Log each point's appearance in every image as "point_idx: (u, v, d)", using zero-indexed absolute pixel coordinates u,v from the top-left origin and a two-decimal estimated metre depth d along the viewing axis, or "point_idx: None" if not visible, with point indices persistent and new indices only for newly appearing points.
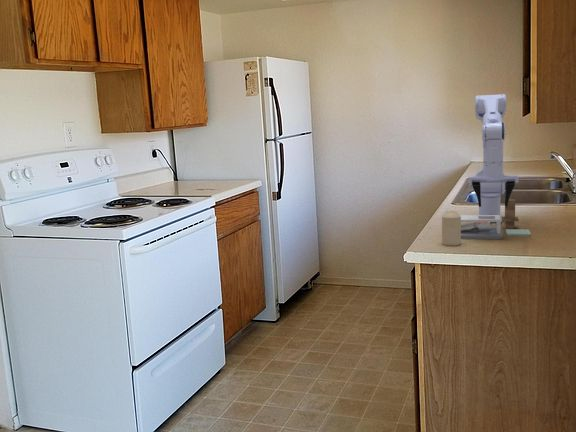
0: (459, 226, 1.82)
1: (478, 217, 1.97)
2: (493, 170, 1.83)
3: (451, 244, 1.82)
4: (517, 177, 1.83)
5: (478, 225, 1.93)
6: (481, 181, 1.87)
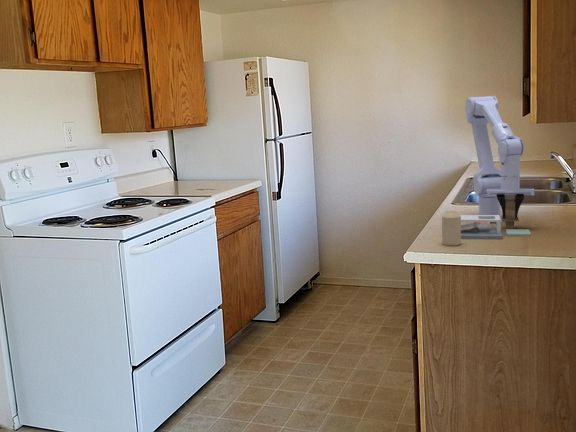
0: (459, 226, 1.82)
1: (478, 217, 1.97)
2: (511, 183, 1.95)
3: (451, 244, 1.82)
4: (533, 190, 1.96)
5: (478, 225, 1.93)
6: (499, 193, 1.99)
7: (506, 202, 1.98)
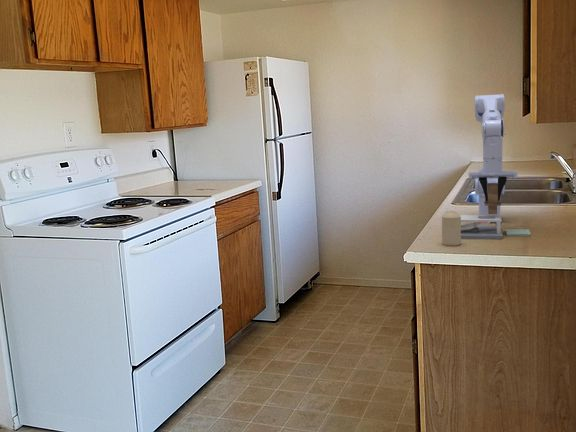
0: (459, 226, 1.82)
1: (478, 217, 1.97)
2: (493, 166, 1.90)
3: (451, 244, 1.82)
4: (516, 172, 1.90)
5: (478, 225, 1.93)
6: (481, 176, 1.94)
7: (488, 186, 1.92)
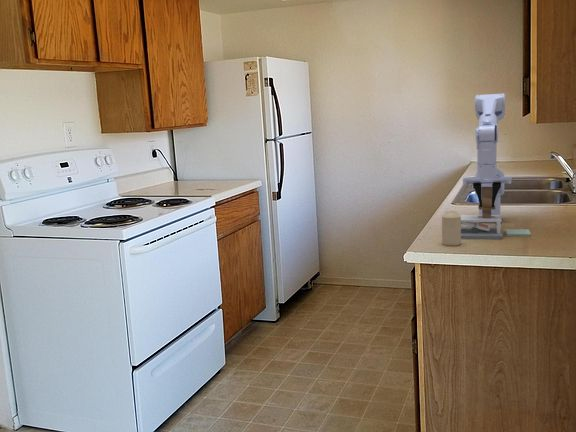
0: (459, 226, 1.82)
1: (478, 217, 1.97)
2: (487, 171, 1.89)
3: (451, 244, 1.82)
4: (510, 178, 1.89)
5: (478, 227, 1.93)
6: (475, 182, 1.93)
7: (482, 190, 1.91)
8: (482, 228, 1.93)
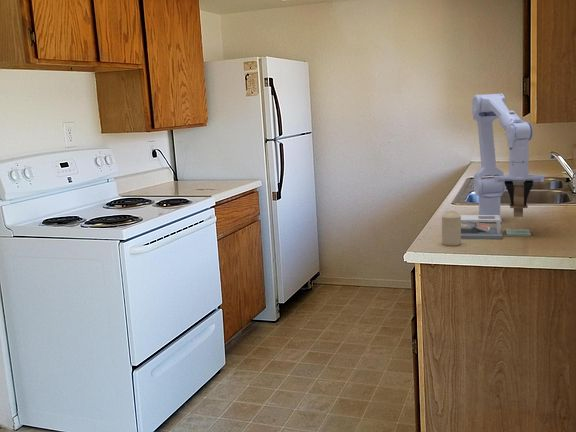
0: (459, 226, 1.82)
1: (478, 217, 1.97)
2: (519, 169, 1.87)
3: (451, 244, 1.82)
4: (542, 176, 1.87)
5: (478, 227, 1.93)
6: (507, 180, 1.91)
7: (514, 188, 1.89)
8: (482, 228, 1.93)
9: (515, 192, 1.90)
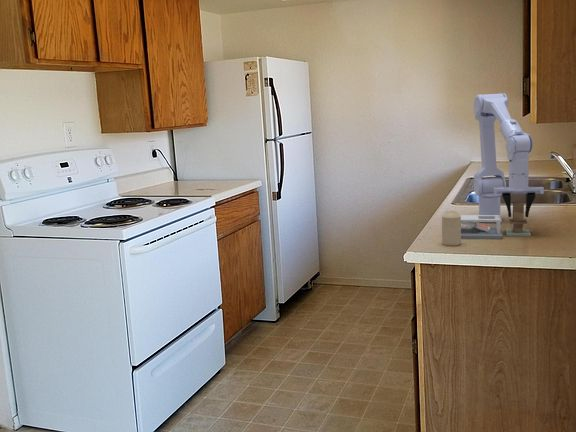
0: (459, 226, 1.82)
1: (478, 217, 1.97)
2: (519, 181, 1.87)
3: (451, 244, 1.82)
4: (542, 188, 1.88)
5: (478, 227, 1.93)
6: (507, 192, 1.91)
7: (514, 204, 1.90)
8: (482, 228, 1.93)
9: (515, 208, 1.91)
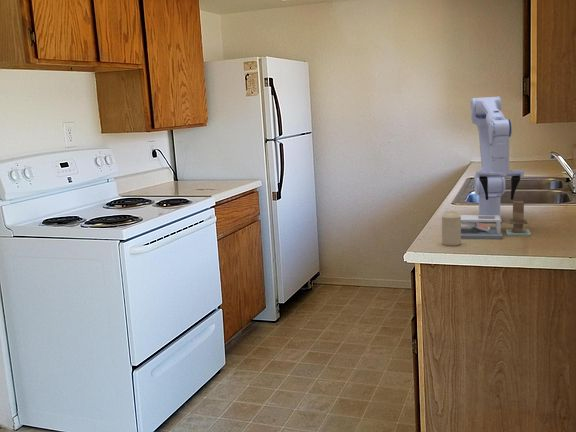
0: (459, 226, 1.82)
1: (478, 217, 1.97)
2: (500, 165, 1.93)
3: (451, 244, 1.82)
4: (522, 172, 1.93)
5: (478, 227, 1.93)
6: (488, 175, 1.97)
7: (514, 204, 1.90)
8: (482, 228, 1.93)
9: (515, 208, 1.91)
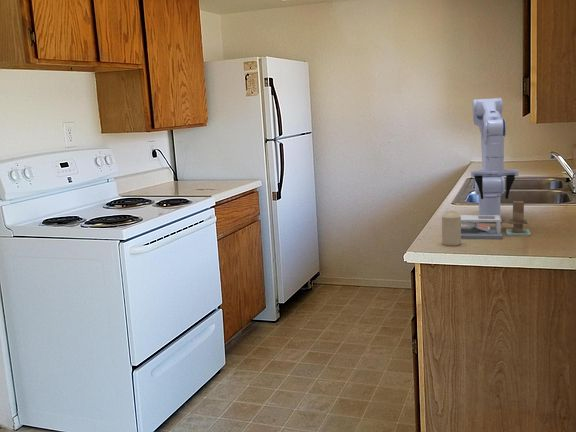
0: (459, 226, 1.82)
1: (478, 217, 1.97)
2: (495, 164, 1.94)
3: (451, 244, 1.82)
4: (517, 171, 1.94)
5: (478, 227, 1.93)
6: (483, 175, 1.98)
7: (514, 204, 1.90)
8: (482, 228, 1.93)
9: (515, 208, 1.91)
